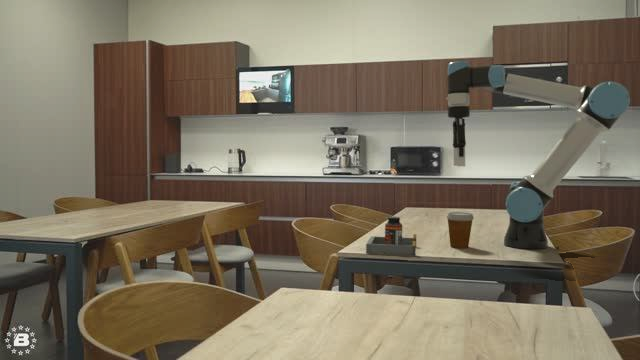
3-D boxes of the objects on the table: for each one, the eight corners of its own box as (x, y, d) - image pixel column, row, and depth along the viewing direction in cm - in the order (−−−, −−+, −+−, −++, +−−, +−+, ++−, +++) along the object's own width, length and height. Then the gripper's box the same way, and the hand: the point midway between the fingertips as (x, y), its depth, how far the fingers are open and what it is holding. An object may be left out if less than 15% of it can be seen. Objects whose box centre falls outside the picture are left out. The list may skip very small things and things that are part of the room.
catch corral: (416, 246, 210) (416, 234, 210) (415, 255, 192) (415, 241, 192) (370, 244, 213) (371, 232, 212) (366, 252, 195) (366, 239, 195)
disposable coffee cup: (440, 245, 212) (441, 212, 212) (461, 243, 217) (462, 211, 216) (457, 249, 204) (457, 215, 203) (478, 248, 208) (479, 214, 207)
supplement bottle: (381, 249, 203) (381, 216, 202) (392, 247, 207) (392, 215, 206) (394, 251, 198) (394, 218, 198) (405, 249, 202) (406, 217, 202)
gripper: (445, 109, 221) (445, 165, 221) (450, 103, 196) (451, 166, 197) (465, 108, 219) (466, 165, 220) (473, 102, 195) (474, 166, 196)
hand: (459, 166), depth 209 cm, fingers open, 13 cm apart
